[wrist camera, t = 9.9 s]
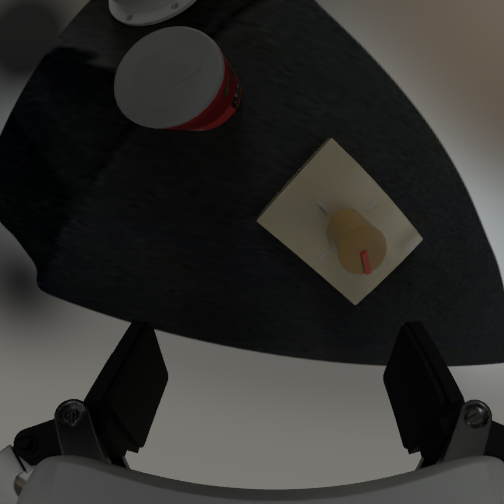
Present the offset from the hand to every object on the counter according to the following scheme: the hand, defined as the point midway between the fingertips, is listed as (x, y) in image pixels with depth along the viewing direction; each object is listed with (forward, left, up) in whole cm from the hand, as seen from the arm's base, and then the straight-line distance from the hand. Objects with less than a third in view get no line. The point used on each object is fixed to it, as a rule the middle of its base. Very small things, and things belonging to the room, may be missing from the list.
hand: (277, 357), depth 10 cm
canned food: (-14, 0, -21) cm, 26 cm away
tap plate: (+5, +6, -21) cm, 22 cm away
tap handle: (+5, +6, -19) cm, 20 cm away
